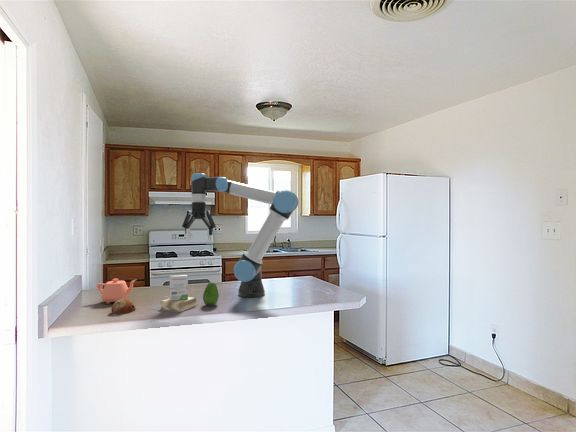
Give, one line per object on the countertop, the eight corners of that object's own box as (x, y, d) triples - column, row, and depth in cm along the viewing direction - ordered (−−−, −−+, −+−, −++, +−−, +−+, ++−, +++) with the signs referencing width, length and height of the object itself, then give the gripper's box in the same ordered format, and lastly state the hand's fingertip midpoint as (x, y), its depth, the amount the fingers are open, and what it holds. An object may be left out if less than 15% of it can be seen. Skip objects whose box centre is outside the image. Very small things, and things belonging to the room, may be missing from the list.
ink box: (187, 297, 193) (187, 274, 193) (188, 299, 188) (188, 275, 188) (169, 298, 190) (169, 275, 190) (169, 301, 186) (169, 276, 185)
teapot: (134, 303, 198) (134, 280, 198) (92, 305, 194) (92, 281, 194) (139, 298, 211) (139, 276, 211) (100, 299, 208) (100, 277, 207)
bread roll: (120, 316, 187) (112, 302, 187) (139, 307, 188) (132, 292, 188) (112, 322, 177) (105, 307, 177) (133, 312, 178) (125, 297, 178)
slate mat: (198, 305, 194) (198, 304, 194) (178, 313, 180) (178, 312, 180) (169, 302, 201) (169, 301, 201) (148, 309, 186) (148, 308, 186)
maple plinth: (196, 305, 193) (196, 297, 192) (181, 311, 181) (181, 303, 181) (176, 303, 197) (176, 295, 197) (160, 309, 186) (160, 300, 186)
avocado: (219, 307, 191) (219, 283, 191) (203, 308, 189) (203, 284, 189) (217, 303, 199) (217, 280, 199) (202, 304, 197) (202, 281, 197)
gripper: (222, 201, 208) (222, 240, 208) (184, 202, 217) (184, 239, 218) (214, 201, 201) (214, 242, 201) (175, 201, 210) (175, 240, 211)
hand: (198, 240), depth 209 cm, fingers open, 13 cm apart
